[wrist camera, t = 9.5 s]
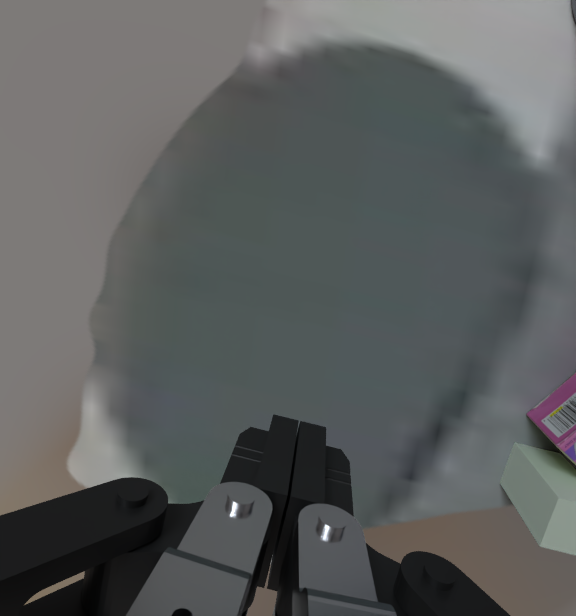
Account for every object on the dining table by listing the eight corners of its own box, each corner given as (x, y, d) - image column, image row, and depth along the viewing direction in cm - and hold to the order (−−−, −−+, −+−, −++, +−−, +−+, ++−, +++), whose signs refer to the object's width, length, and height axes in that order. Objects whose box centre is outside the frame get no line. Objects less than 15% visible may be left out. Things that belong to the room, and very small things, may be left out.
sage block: (514, 442, 40) (558, 498, 33) (560, 453, 40) (616, 511, 33) (499, 482, 41) (539, 546, 34) (545, 493, 41) (595, 560, 33)
